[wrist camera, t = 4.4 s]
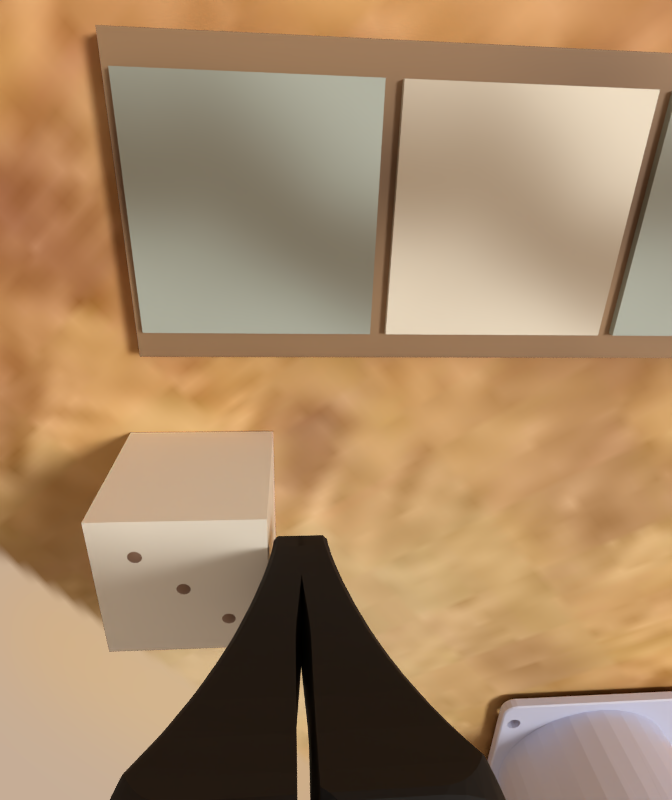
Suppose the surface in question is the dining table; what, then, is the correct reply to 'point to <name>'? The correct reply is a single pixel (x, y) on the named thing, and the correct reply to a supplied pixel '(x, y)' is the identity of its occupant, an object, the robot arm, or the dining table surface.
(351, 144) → the track
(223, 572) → the die
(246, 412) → the dining table surface
